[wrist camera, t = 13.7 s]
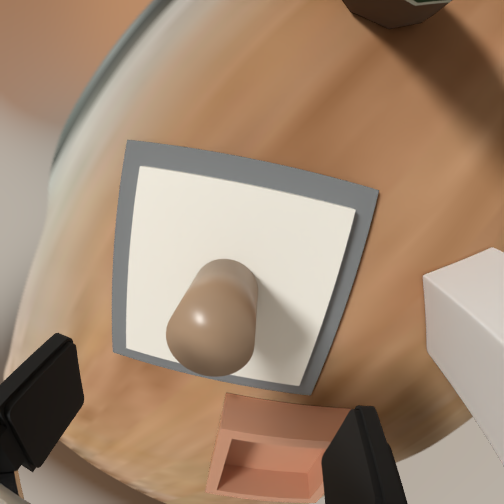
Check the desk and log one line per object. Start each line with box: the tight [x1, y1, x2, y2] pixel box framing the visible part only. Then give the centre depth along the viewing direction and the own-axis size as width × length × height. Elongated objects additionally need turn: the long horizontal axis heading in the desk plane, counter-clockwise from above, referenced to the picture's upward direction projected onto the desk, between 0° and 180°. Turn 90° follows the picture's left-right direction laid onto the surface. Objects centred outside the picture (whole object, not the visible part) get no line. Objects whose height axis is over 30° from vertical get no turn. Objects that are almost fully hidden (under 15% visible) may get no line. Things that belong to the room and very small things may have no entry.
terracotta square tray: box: [205, 393, 351, 503], centre depth 22 cm, size 11×11×4 cm
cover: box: [126, 166, 356, 386], centre depth 16 cm, size 13×13×7 cm
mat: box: [112, 140, 379, 395], centre depth 20 cm, size 16×16×1 cm
